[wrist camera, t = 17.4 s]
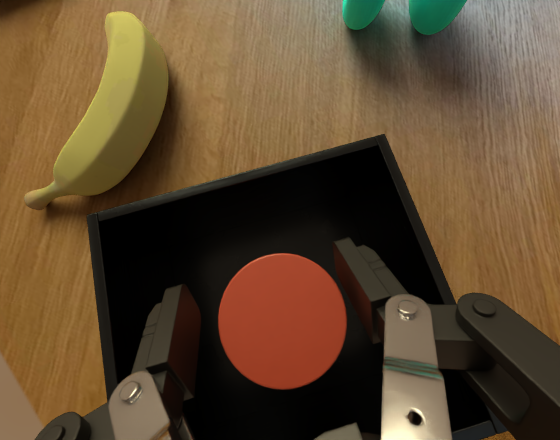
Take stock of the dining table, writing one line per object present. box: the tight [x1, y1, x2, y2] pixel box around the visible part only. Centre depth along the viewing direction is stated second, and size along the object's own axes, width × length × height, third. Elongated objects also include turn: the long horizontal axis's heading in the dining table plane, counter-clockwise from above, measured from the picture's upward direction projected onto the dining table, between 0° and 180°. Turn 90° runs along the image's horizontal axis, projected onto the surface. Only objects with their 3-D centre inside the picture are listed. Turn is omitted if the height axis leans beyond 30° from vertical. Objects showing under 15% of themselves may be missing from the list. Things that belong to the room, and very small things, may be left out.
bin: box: [87, 134, 508, 440], centre depth 18 cm, size 17×15×10 cm
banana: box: [24, 11, 168, 210], centre depth 26 cm, size 14×6×20 cm
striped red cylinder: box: [218, 253, 347, 390], centre depth 16 cm, size 5×5×12 cm
